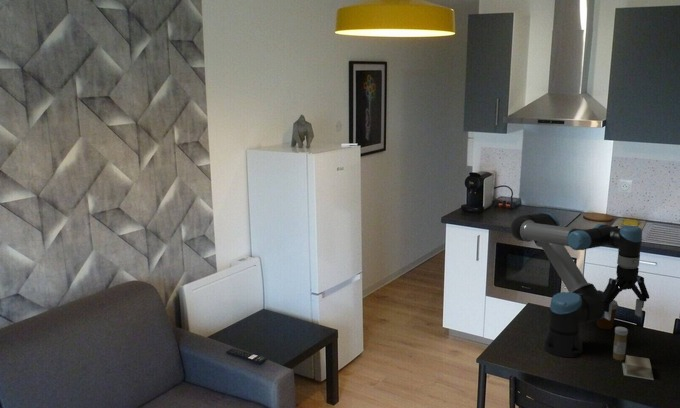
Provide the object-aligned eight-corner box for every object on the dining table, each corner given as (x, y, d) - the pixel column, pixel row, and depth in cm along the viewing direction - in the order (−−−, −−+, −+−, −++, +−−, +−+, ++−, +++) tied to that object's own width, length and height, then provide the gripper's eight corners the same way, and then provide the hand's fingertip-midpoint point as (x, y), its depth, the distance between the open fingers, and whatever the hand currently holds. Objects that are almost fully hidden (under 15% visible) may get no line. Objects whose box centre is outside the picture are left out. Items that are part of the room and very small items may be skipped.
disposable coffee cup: (620, 330, 254) (622, 305, 251) (598, 330, 254) (600, 305, 251) (610, 321, 263) (612, 297, 260) (589, 322, 263) (591, 297, 260)
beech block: (626, 374, 215) (627, 364, 214) (625, 364, 223) (626, 355, 222) (650, 378, 212) (651, 368, 211) (648, 368, 220) (649, 358, 219)
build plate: (623, 376, 215) (623, 375, 215) (621, 364, 224) (622, 362, 224) (653, 381, 211) (653, 379, 211) (650, 369, 220) (650, 367, 220)
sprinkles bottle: (612, 356, 231) (615, 325, 228) (624, 358, 229) (628, 327, 226) (612, 361, 227) (615, 329, 224) (624, 363, 225) (627, 331, 222)
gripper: (605, 271, 213) (600, 324, 218) (663, 266, 218) (657, 317, 223) (592, 265, 221) (588, 316, 225) (649, 260, 225) (643, 310, 230)
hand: (622, 317), depth 224 cm, fingers open, 13 cm apart
